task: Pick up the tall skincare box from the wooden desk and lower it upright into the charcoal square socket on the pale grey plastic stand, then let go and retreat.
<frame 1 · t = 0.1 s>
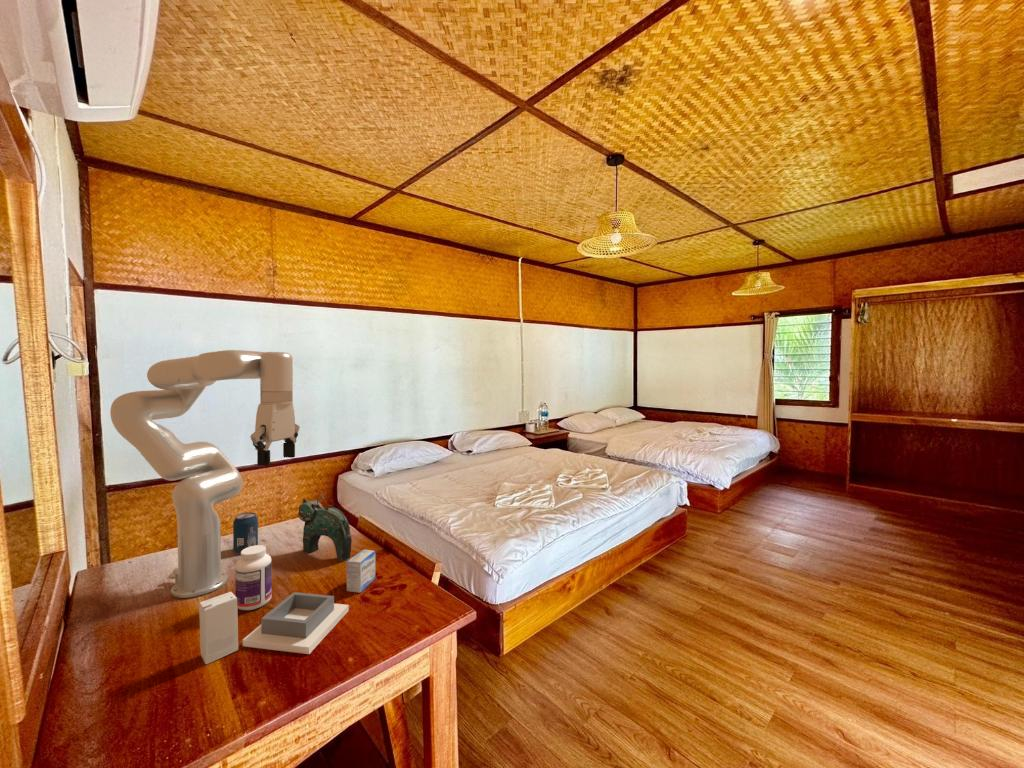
hand: (277, 461, 109), 37 cm above the table, tool pointing down, fingers open, 9 cm apart
skincare box: (219, 655, 87), on the table
spotted teal figurine: (326, 554, 134), on the table
medicine box: (361, 585, 115), on the table
socket stand: (299, 627, 96), on the table
soda can: (245, 551, 136), on the table
pill bottle: (253, 604, 106), on the table
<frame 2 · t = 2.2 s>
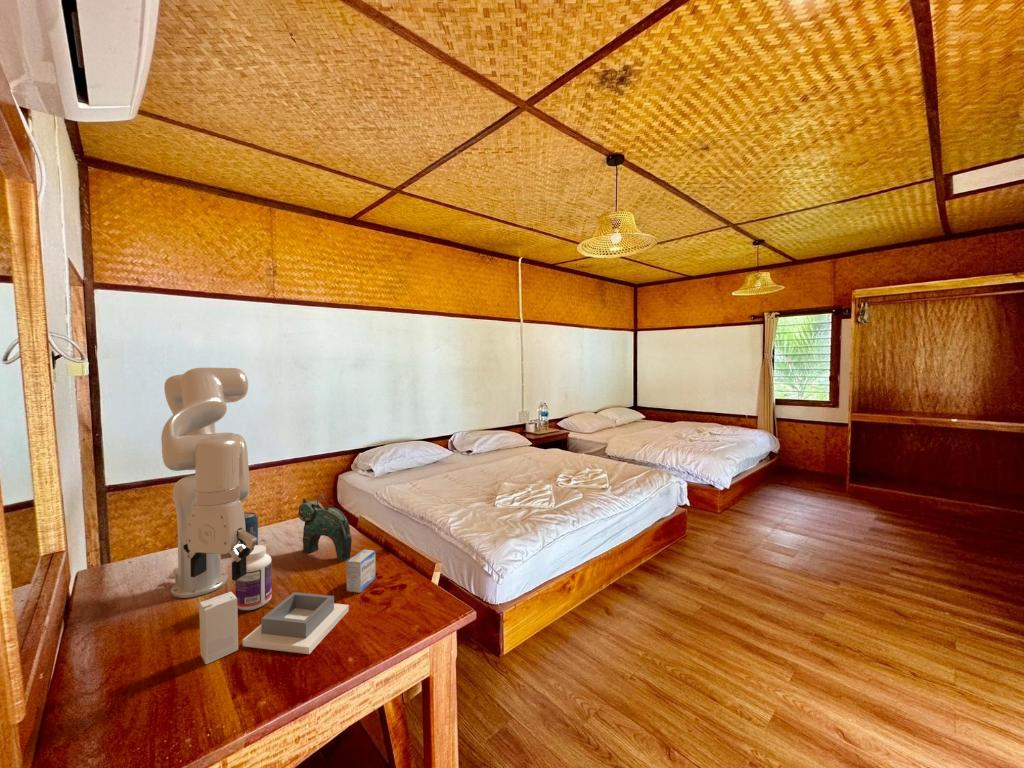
hand: (218, 575, 86), 17 cm above the table, tool pointing down, fingers open, 9 cm apart
nothing on the table moved.
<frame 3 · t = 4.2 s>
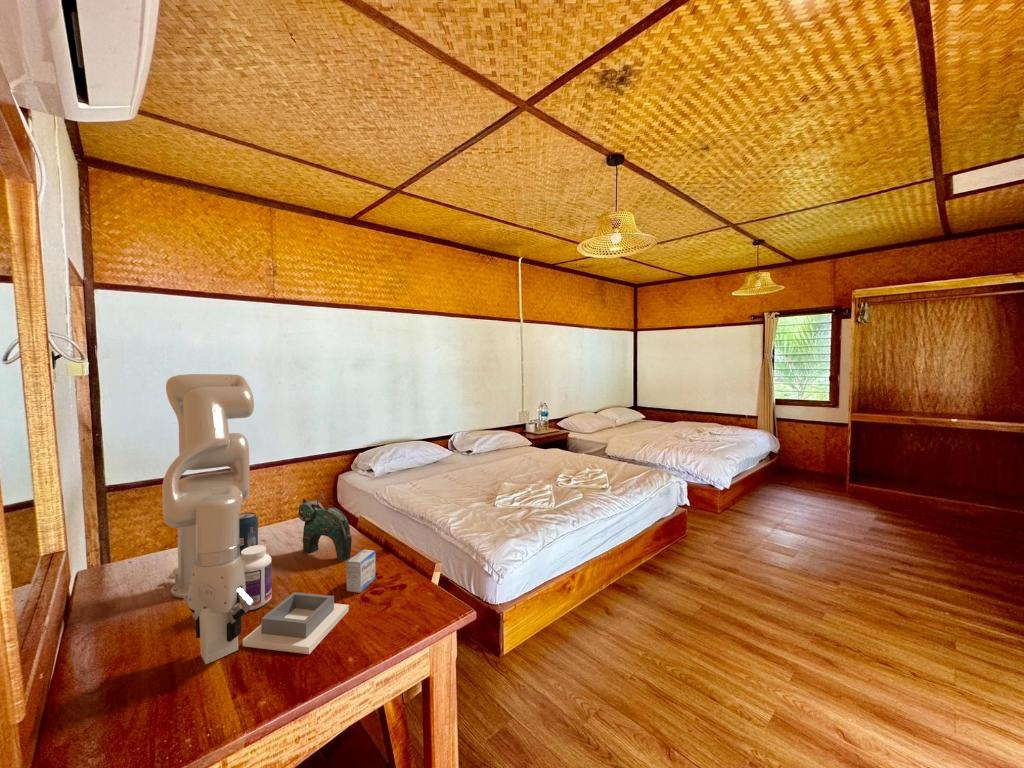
hand: (219, 635, 87), 4 cm above the table, tool pointing down, fingers closed on skincare box, 6 cm apart
skincare box: (219, 655, 87), on the table, touching gripper
everything else where it was.
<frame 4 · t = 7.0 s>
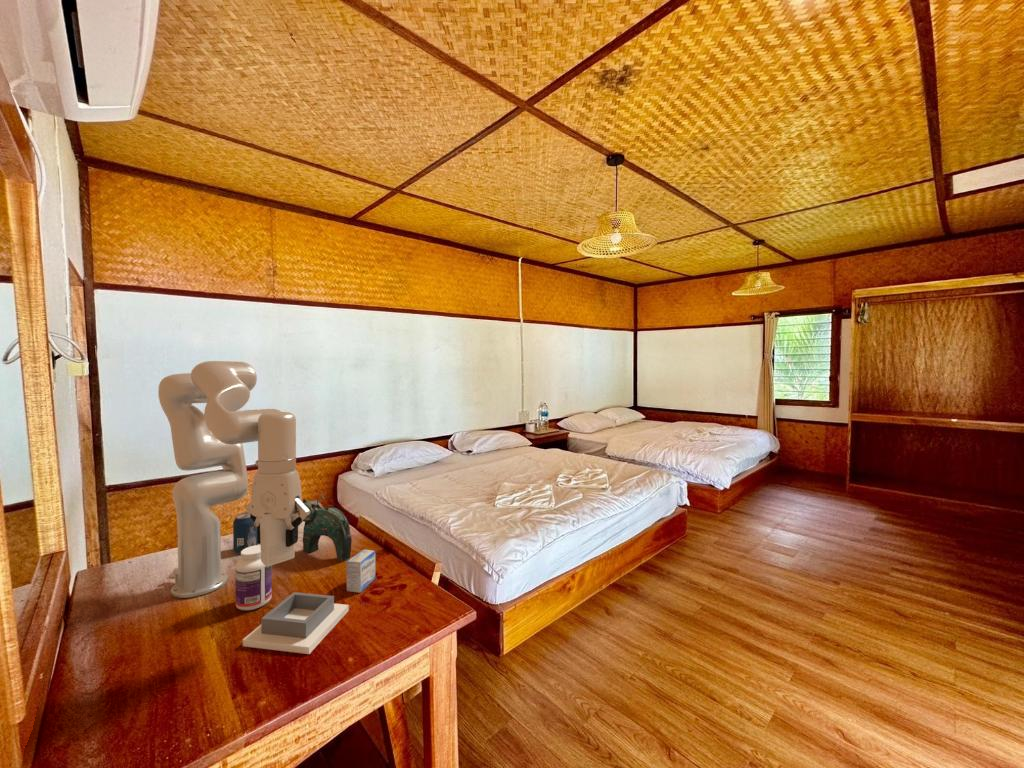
hand: (277, 542, 93), 22 cm above the table, tool pointing down, fingers closed on skincare box, 6 cm apart
skincare box: (277, 561, 93), point 17 cm above the table, touching gripper
everything else where it was.
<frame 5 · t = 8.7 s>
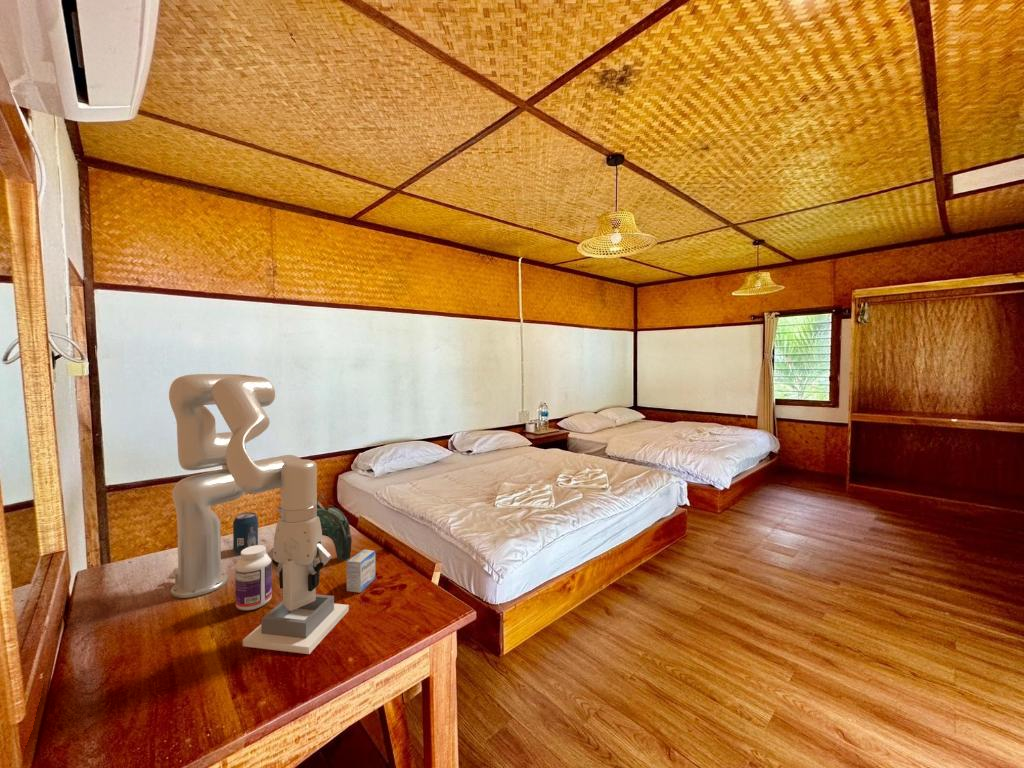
hand: (299, 586, 96), 10 cm above the table, tool pointing down, fingers closed on skincare box, 6 cm apart
skincare box: (299, 604, 96), point 6 cm above the table, touching gripper
everything else where it was.
when the fingers open (6 cm above the table, at t = 9.8 s): skincare box stays where it is, resting on socket stand.
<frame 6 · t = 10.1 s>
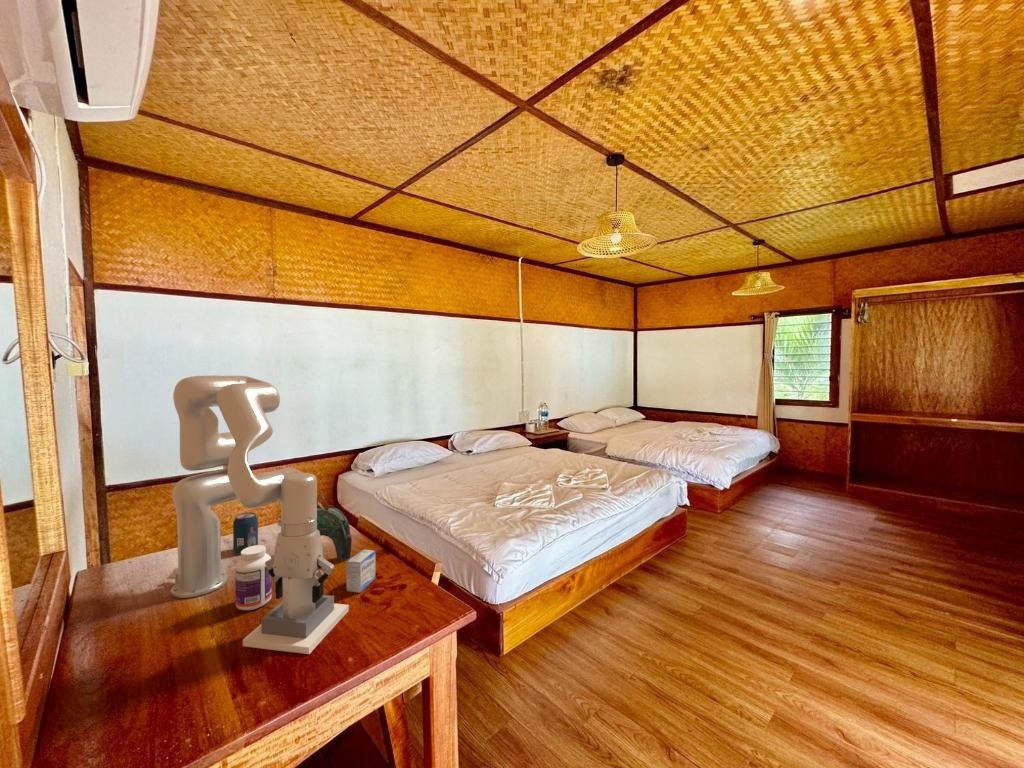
hand: (299, 597, 96), 7 cm above the table, tool pointing down, fingers open, 9 cm apart
skincare box: (299, 621, 96), point 1 cm above the table, touching socket stand
everything else where it was.
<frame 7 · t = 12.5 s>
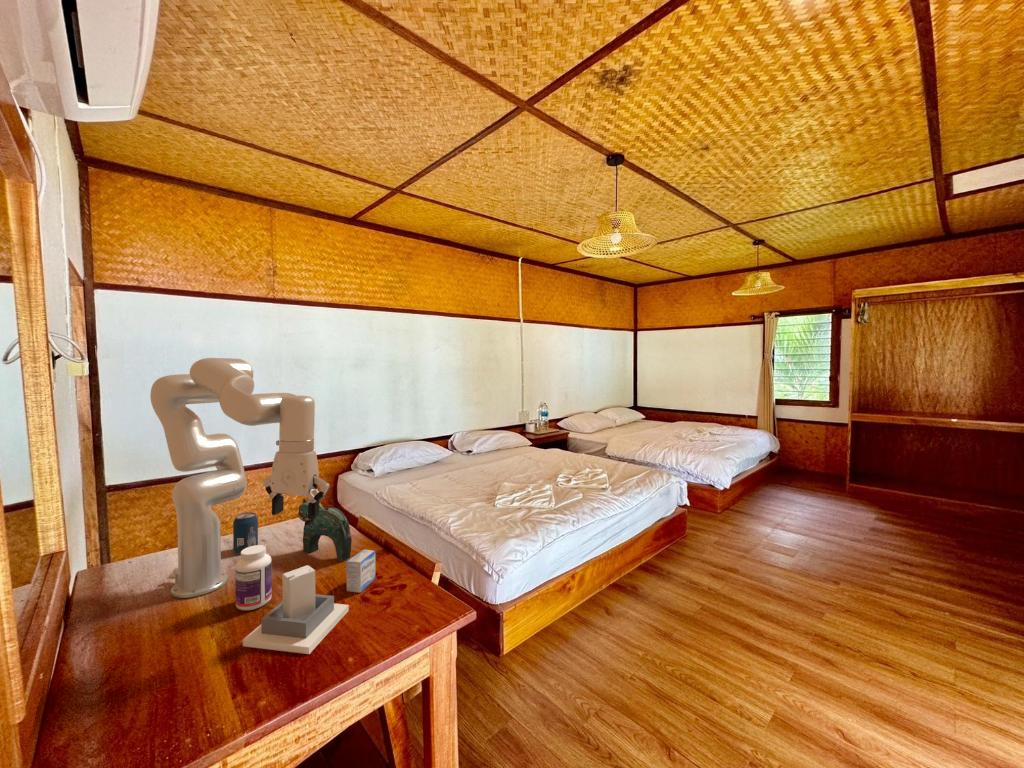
hand: (295, 515, 99), 26 cm above the table, tool pointing down, fingers open, 9 cm apart
nothing on the table moved.
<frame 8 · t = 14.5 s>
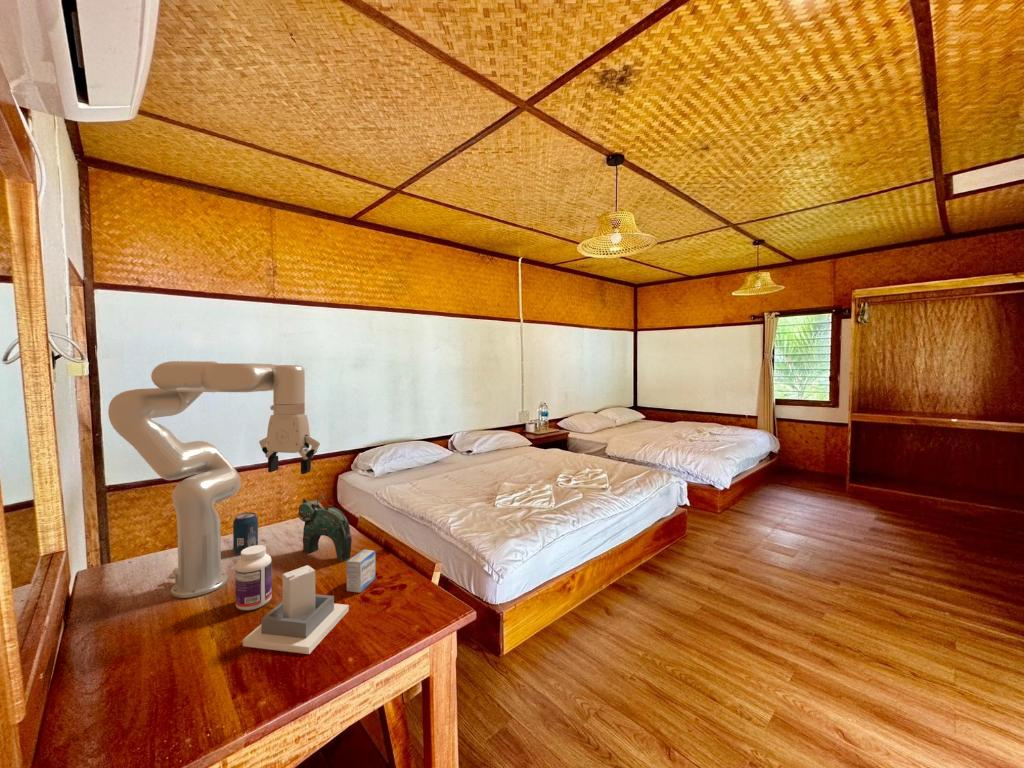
hand: (289, 472, 111), 33 cm above the table, tool pointing down, fingers open, 9 cm apart
nothing on the table moved.
at the end: skincare box 0.1 cm off-centre on the socket stand, point 1.3 cm above the socket stand's base; skincare box tilted 0°; the gripper is holding nothing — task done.
